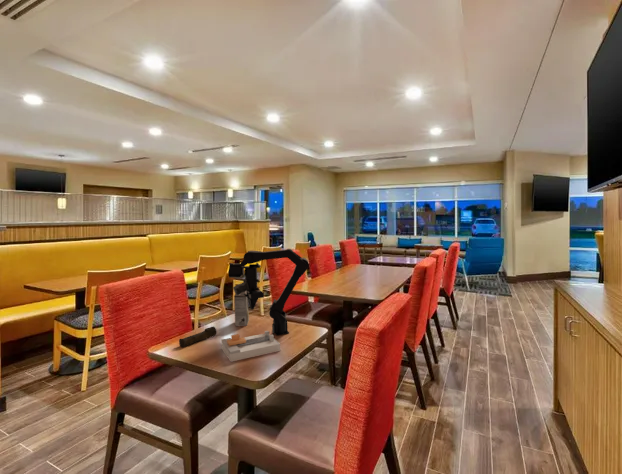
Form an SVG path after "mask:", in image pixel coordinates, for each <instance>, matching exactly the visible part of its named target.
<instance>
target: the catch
mask: <svg viewBox="0 0 622 474" xmlns="http://www.w3.org/2000/svg"><path fill="white" fill-rule="evenodd" d="M230 338H231V340H227V344H228V345H229V346H231V345H236V344H241V343H246V340H245V339H244V337H240V334H239V333H236V334H232V335H231V336H230Z"/></svg>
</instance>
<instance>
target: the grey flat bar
mask: <svg viewBox="0 0 622 474" xmlns="http://www.w3.org/2000/svg"><path fill="white" fill-rule="evenodd" d="M264 341H269V336H264V337H259V338H254V339H249V340H246V343H241V344H236V345H237V347H239V346H244V345H249V344H254V343H259V342H264Z"/></svg>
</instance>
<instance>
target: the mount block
mask: <svg viewBox="0 0 622 474" xmlns="http://www.w3.org/2000/svg"><path fill="white" fill-rule="evenodd" d="M264 336H269V341H264V342H259V343H254V344H249V345H244V346H239V347H237V345H231V346H229V345H228V344H227V340H231V339H232V338H231V337H227V338H223V339H221V343H220V344H221V350H222V351H223V353H224V355H225V356H226V357H227V358H228V360H229V361H230V362H236V361H240V360H246V359H248V358H254V357H258V356H264V355H266V354H271V353H272V354H273V353H275V352H280V351H281V343H280V342H279V341H278V340H277V339H276V338H274V337H275V334H274V333H272V334H270V331H269V330H264V333H260V334H255V335H250V336H245V337H244V339H245V340H249V339H254V338H259V337H264Z"/></svg>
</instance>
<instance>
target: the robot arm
mask: <svg viewBox="0 0 622 474" xmlns="http://www.w3.org/2000/svg"><path fill="white" fill-rule="evenodd" d="M284 258H286V259H288V260H290V261H291V263H293V264H294V265H295V267H294V269H293V273H292V275H291V276H290V278H289V279H288V282H287V283H286V285H285V287H284V288H283V290H282V293H281V294H280V296H279V297H278V299H277V300H276V299H275V298H273V301H272V304H270V306H269V309H268V310H269V312H268V314H269V317H270V318H271V319H272V324H271V327H272V329H271V332H272V334H273V335H274V336H275V335H276V336H282V335H287V334H290V331H289V330H288V319H287V313H286V312H285V311H284V308H285V305H286V303H287V302H288V301H287V300H288V299H289V298H290V296H291V294H292V292H293V290H294V288H295V287H296V285H297V283H298V281H299V279H300V278H301V277H303V275H304V274H305V272H306V271H307V270H308V269H309V265H310V263H309V260H308V259H307V258H305V257H301V256H300V255H299V254H298V253H296V252H295V251H294V250H293V249H291V248H287V249H279V250H269V251H258V250H249V251H246V252H245V253H244V255H243V260H242V261H241V262H240V263H235V262H234V263H229V267H228V272H227V274H228V278H229V279H231V278H242V276H244V279H243V280H242V282H241V283H238V284H237V285H235V286H233V287H232V289H233V291H234V293H235V294H237V295H239V294H240V293H242V292H245V294H244V296H246V297H247V299H248V306H249V308H250V310H251V311H253V310H254V309H255V306H257V305H256V304H257V302H258V300H259V299H261V298H264V296H265V293H264V292H263V291H262V290H260V289H259V287H258V282H259V278H258V269H260V268H261V267H262V265H260V264H259V262H262V261H264V260H265V261H266V260H276V259H277V260H278V259H284ZM247 265H248V266H247ZM235 294H234V295H235Z"/></svg>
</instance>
